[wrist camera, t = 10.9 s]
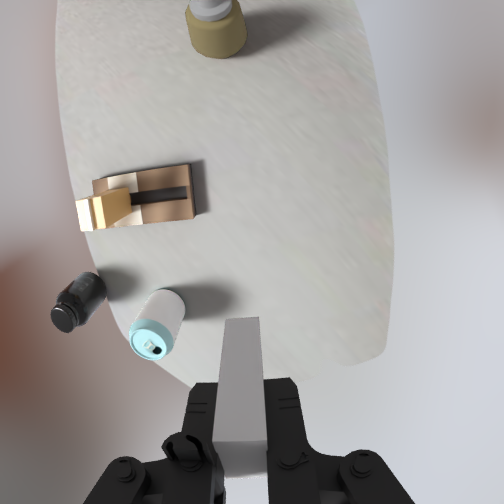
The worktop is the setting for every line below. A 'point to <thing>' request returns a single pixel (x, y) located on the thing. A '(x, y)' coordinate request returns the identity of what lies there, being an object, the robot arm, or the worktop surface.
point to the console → (154, 194)
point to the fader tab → (103, 209)
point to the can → (157, 325)
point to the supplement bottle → (78, 302)
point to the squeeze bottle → (216, 27)
